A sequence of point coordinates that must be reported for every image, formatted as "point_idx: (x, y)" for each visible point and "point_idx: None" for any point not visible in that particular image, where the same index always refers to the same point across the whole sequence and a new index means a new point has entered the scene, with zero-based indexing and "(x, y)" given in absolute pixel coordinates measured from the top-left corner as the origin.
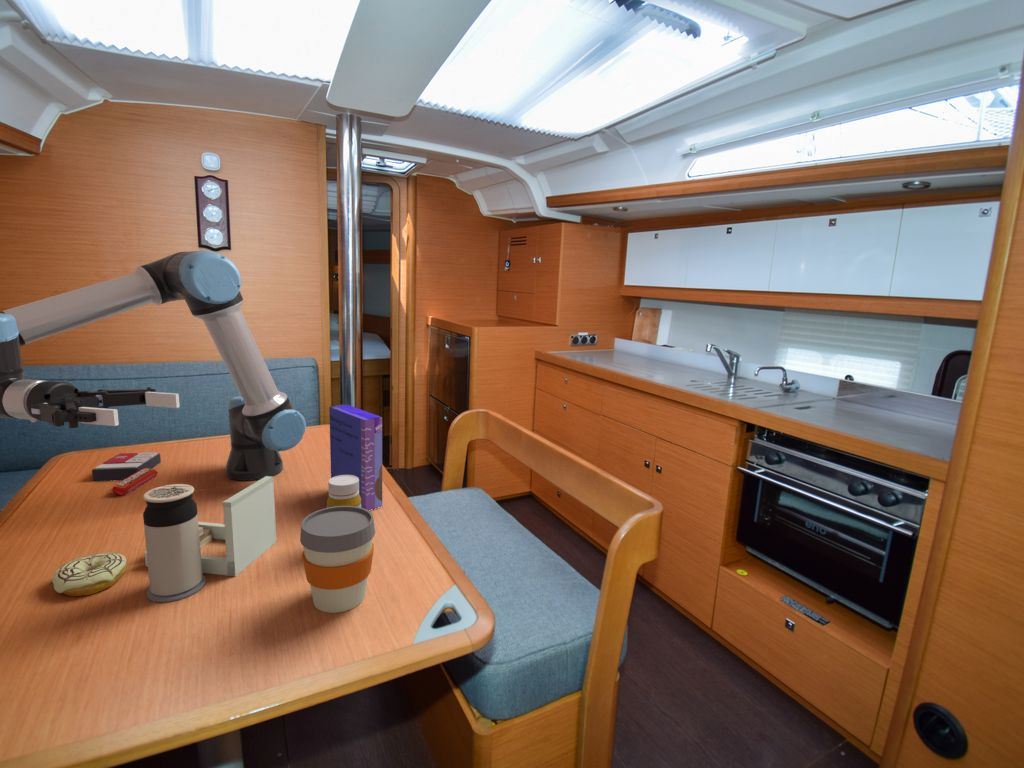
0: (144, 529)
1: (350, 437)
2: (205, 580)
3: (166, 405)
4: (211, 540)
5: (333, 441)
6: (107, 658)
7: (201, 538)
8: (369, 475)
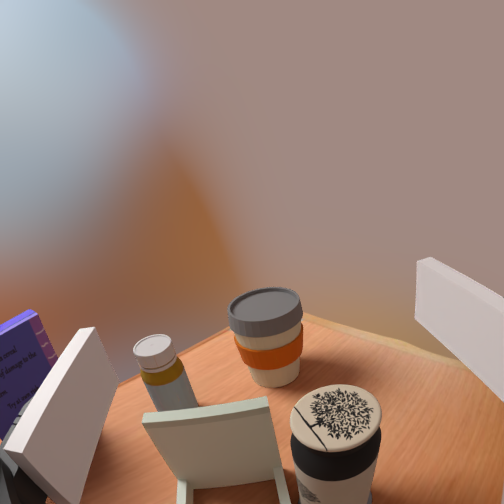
0: (374, 464)
1: (20, 367)
2: None
3: (102, 409)
4: None
5: None
6: (444, 436)
7: None
8: None
